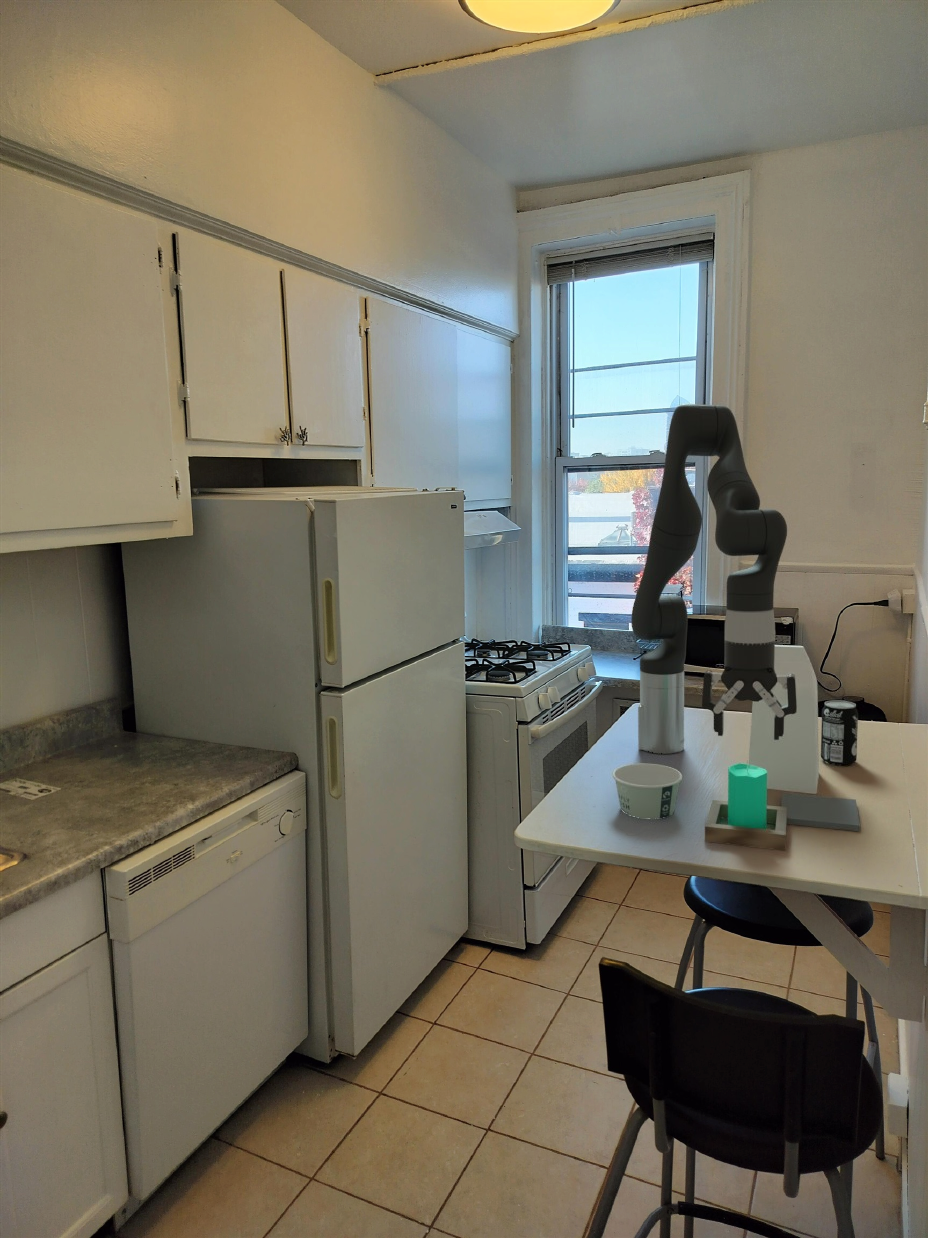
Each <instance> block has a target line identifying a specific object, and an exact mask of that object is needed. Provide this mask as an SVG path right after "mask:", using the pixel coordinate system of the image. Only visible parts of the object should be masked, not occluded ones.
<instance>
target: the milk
mask: <svg viewBox="0 0 928 1238" xmlns="http://www.w3.org/2000/svg"><path fill="white" fill-rule="evenodd" d="M774 670H775V673H776V675H788V674H794V675H795V682H796V702H797V711H796V713H795V714H789V715H786V716H785V717H784V734H783V736H782V737H781V736H779V740H774V717H775V713H774V711H773V710H772V709H771V708H770V707H769V706H768V705H767V703H766V702H765V701H764V700H763V699H762V700H760V701H759V702H756V701H752V705H751V706H752V708H751V721H750V722H751V723H750V724H751V725H750V736H749V748H748V749H749V750H748V764H749V765H753V766H756V767H760V768H763V769H766V771H767V790H769V789H770V790H776V791H785V792H795V793H804V794H814V795H815V794H817V792H818V784H819V777H820V763H819V762H820V759H819V757H820V755H819V750H820V749H819V707H818V706H819V705H818V703H819V701H818V680H817V676H816V673H815V670H814V667H813V665H812V662H811V659H810V657H809V655H808V654H807V651H806V648H805V647H804V646H802V645H788V644H787V645H785V644H784V645H783V644H775V655H774ZM771 691H772V693H773V694H774V695H775V696H776V698H777V700H778V701H779V702H780V704H781V705H782V706H785V705H788V694H787V689H783V688H782V685H781V684H780V683H779V682H777V683H776V685H775V686H774V687H773V688H772V690H771Z"/></svg>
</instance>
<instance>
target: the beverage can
mask: <svg viewBox="0 0 928 1238" xmlns="http://www.w3.org/2000/svg"><path fill="white" fill-rule="evenodd" d="M856 707H857V704H856V703H855V702H852V701H847V700H841V699H840V700H827V701H825V702H824V706H823V708H822V709H821V740H820V742H821V743H820V758H821V759H822V760H823V762H824V763H826V764H829V765H831V766H838V767H848V766H851V765H853V764H854V763H855V762H856V761H857V754H858V751H857V750H858V728H859V726H858V725H859V724H858V723H859V721H858V720H859V711H858V709H857V708H856Z"/></svg>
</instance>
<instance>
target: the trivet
mask: <svg viewBox="0 0 928 1238" xmlns="http://www.w3.org/2000/svg"><path fill="white" fill-rule="evenodd" d="M780 807H787V825H795V826H806V827H812V828H813V827H816V828H824V829H835V830H843V831H854V832H860V831H861V824H860V818H859V812H858V811H859V810H858V806H857V799H855V798H843V797H833V796H821V795H810V794H800V793H788V792H781V806H780Z"/></svg>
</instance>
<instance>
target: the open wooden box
mask: <svg viewBox="0 0 928 1238" xmlns="http://www.w3.org/2000/svg"><path fill="white" fill-rule="evenodd" d="M707 814H708V815H707V819H706V822H705V825H704V842H708V843H716V844H717V843H718V844H725V845H733V846H743V847H750V848H751V847H752V848H758V849H759V848H760V849H769V850H777V851H784V852H785V851H786V841H787V840H786V839H787V825H788V824H787V807H781V806H778V805H777V806H776V805H768V804H767V814H766V824H775V830H774V829H767V828H766V829H758V828H749V827H740V826H731V825H728V824H720V821H721V819H727V820H728V800H727V801H725V800H716V799H713V800H712V801H711V804H710V807H709V810H708V813H707Z"/></svg>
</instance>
